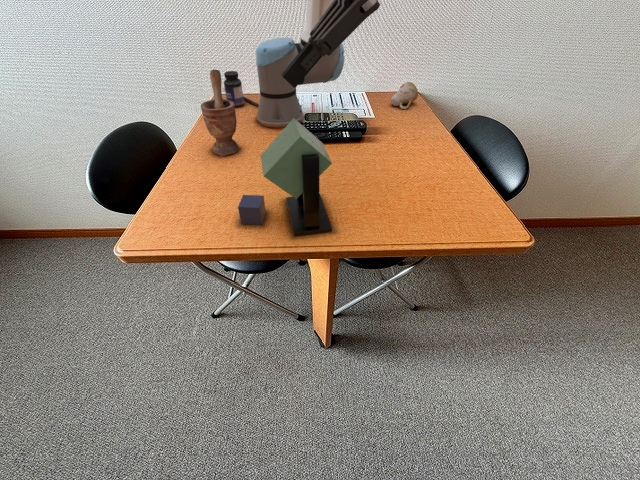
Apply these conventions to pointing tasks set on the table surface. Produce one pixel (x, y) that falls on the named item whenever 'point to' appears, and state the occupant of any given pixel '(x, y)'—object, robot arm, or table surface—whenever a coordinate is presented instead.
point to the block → (252, 209)
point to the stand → (308, 202)
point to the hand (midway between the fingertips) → (288, 81)
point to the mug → (405, 95)
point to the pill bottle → (233, 88)
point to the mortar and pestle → (220, 118)
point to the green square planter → (292, 157)
